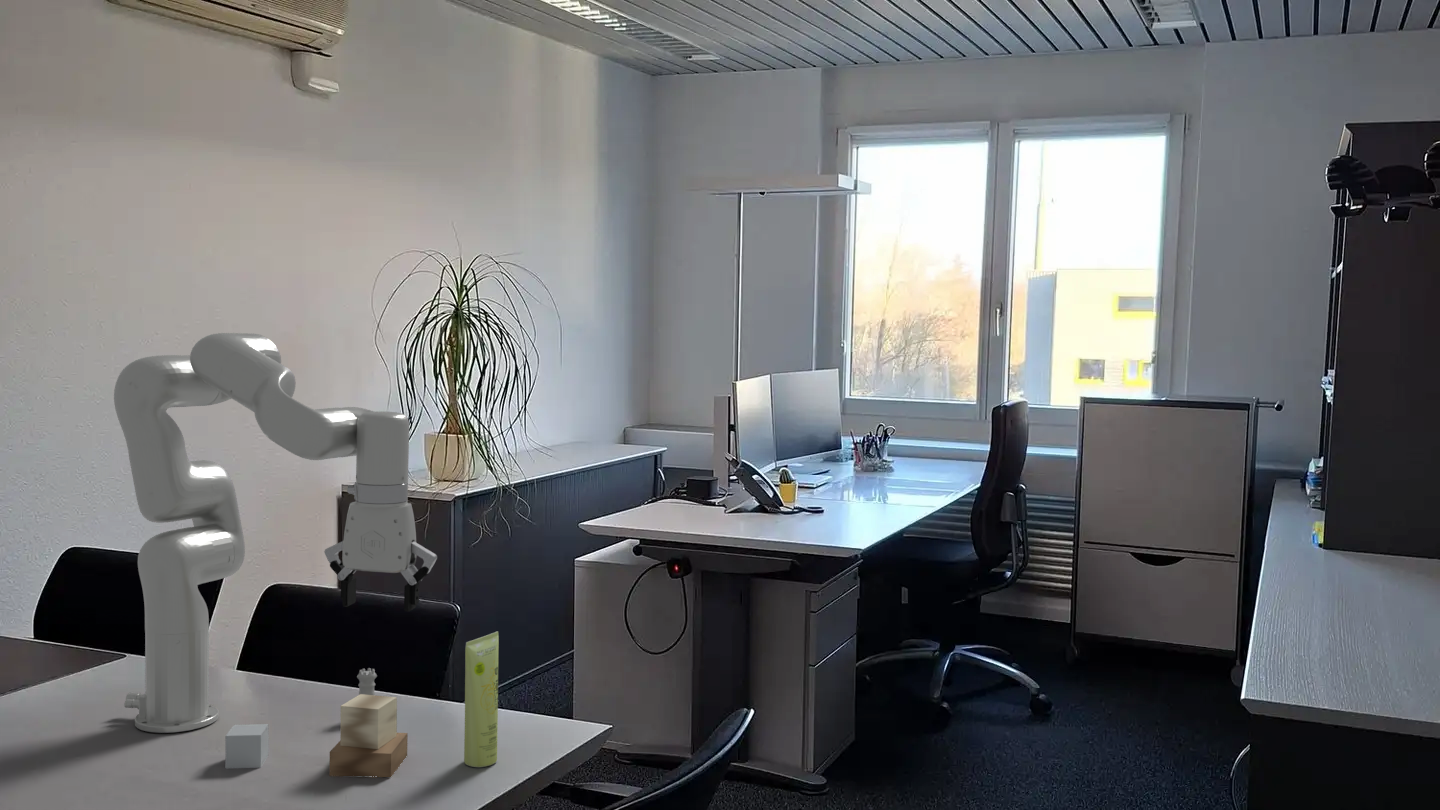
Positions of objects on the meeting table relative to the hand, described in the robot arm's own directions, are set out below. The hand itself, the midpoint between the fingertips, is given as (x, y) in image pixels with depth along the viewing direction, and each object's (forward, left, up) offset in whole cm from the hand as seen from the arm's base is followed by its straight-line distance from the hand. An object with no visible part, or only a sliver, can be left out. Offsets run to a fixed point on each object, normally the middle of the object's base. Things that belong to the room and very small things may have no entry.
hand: (379, 607), depth 181 cm
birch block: (-1, -2, -20) cm, 20 cm away
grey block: (-19, -4, -24) cm, 30 cm away
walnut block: (0, -2, -24) cm, 24 cm away
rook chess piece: (-10, +19, -24) cm, 32 cm away
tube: (+15, +2, -24) cm, 28 cm away
